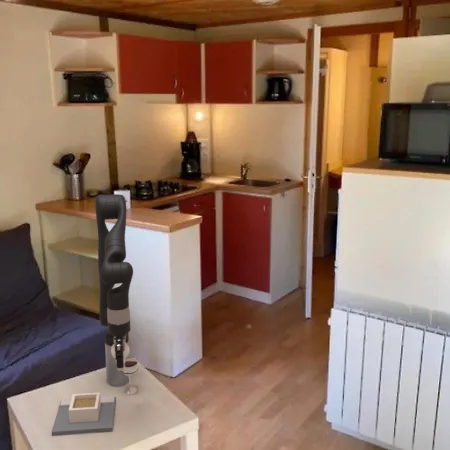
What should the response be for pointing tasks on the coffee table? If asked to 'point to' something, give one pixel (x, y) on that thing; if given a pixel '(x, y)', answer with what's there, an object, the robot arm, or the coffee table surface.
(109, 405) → the socket board
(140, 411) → the coffee table surface
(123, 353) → the lightbulb
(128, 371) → the wineglass
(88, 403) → the socket plunger
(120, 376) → the robot arm
